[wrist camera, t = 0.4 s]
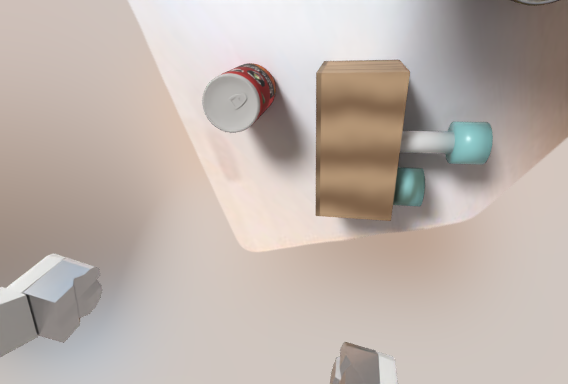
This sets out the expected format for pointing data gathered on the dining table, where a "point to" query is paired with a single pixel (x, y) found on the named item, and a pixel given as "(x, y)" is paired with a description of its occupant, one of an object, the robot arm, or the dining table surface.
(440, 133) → the knob
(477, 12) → the dining table surface
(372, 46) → the dining table surface
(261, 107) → the canned food
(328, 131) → the block
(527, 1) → the ceramic cup
